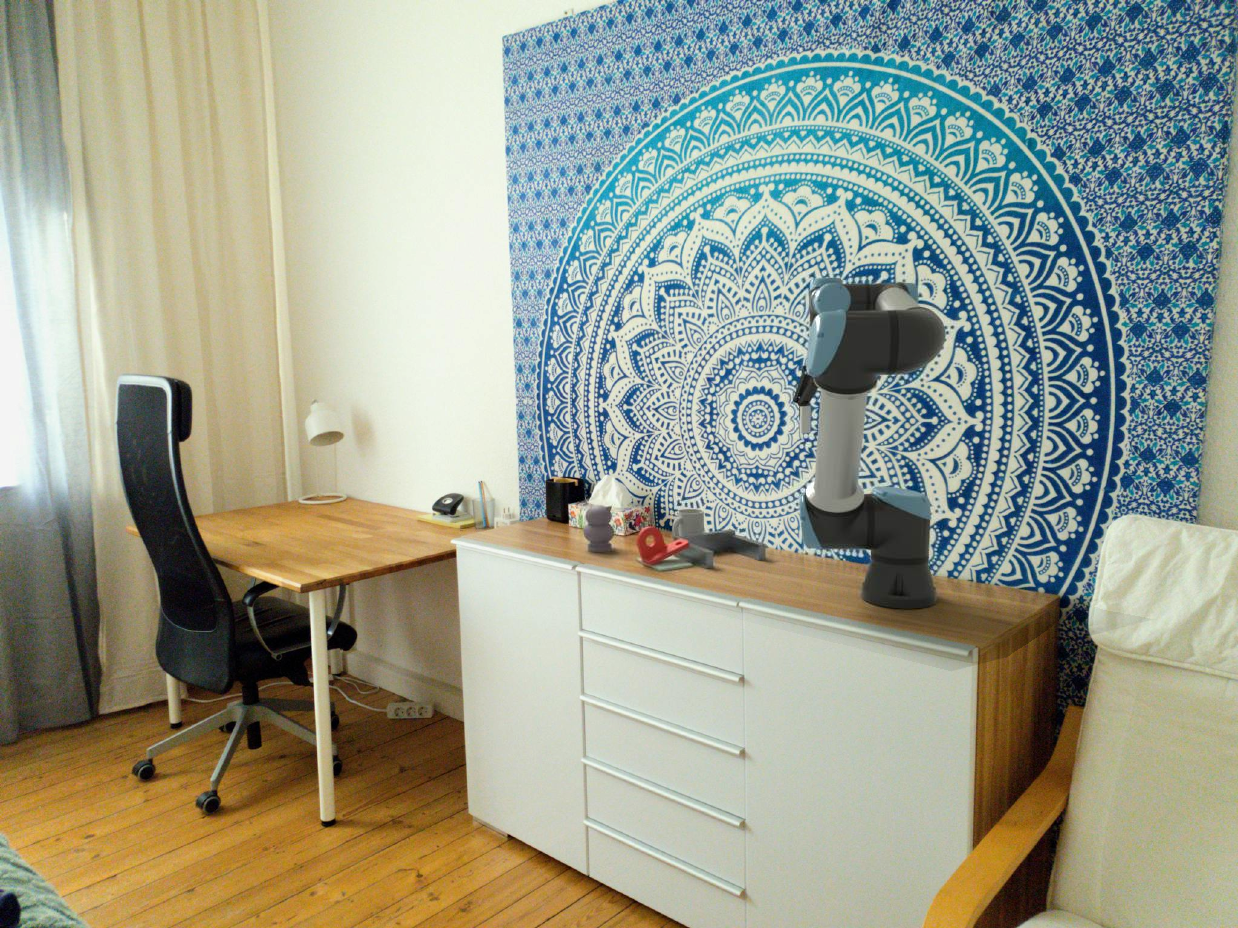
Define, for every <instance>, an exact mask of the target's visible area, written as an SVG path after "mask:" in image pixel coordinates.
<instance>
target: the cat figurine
mask: <svg viewBox="0 0 1238 928" xmlns="http://www.w3.org/2000/svg"><path fill="white" fill-rule="evenodd" d="M589 505H590V506H589V507H588V509H587V510H586V512H585V520H586V522H587V524H586V525H584V528H583V536H584V538H585V539H586V540H587V541H588V542H589V543H588V544H587V551H589V552H591V553H607V552H610V551H612V548H613V546H612V543H611V542H610V541H611V540H613V538H614V537H615V529H614V527H613V526H612V524H611V521H612V516H613V515H612V513H611V510H612V507H613V505H609V506H605V505H602V504H593V503H590V504H589Z"/></svg>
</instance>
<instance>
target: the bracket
mask: <svg viewBox="0 0 1238 928" xmlns="http://www.w3.org/2000/svg"><path fill="white" fill-rule="evenodd" d="M650 536H652V537H653V542H652V543H651V544H650V545H648V544H647V539H648V537H650ZM636 545H637V548H638V552H639V556H640V558H641V559H642V562H644V563H646V564H648V565H651V566H652V565H654V564H656V563H658V562H660V561H662V560H664V559H666V558H668V557H670V556H674V554H676V553H678V552H680V551H682V550H684V549H686V548H688V547H689V546H690V545H689V541H687V540H684V539H682V538H680V539H678V540H676V541H674V540H673V541H672V542H670V543H668V544H666V543H665V539H664V537H663V533H662V532H661V530H660V529H659V528H657V527H655V526H645V527H643V528H642V529H641V530H640V531H639V532H638V535H637V537H636Z"/></svg>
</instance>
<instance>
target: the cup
mask: <svg viewBox="0 0 1238 928" xmlns="http://www.w3.org/2000/svg"><path fill="white" fill-rule="evenodd" d="M699 533H705V512H704V510H703V509H697V508H682V509H678V510H677V511H676V518H675V519H674V520H673V523H672V536H673V538H674V537H676V536H684V535H691V534H699Z"/></svg>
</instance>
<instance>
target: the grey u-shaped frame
mask: <svg viewBox="0 0 1238 928" xmlns="http://www.w3.org/2000/svg"><path fill="white" fill-rule="evenodd" d="M680 538H682V539H684V540H687V541H689V545H690V546H689V547H688V548H686V549H684V550H682V551H680V552H678V553H676V554H674V555H673V557H676V558H679V559H681V560H684V561H686V562H689V563H691V564H693V565H696V566H698V567H701V568H704V569H713V568H714V553H719V552H725V551H730V552H733V553H736V554H739V555H742V556H744V557H748V558H750V559H753V560H756V561H765V560H766V559H767V558H766V553H767V551H766V547H767V546H766V545H767V544H766V543H764V542H761V541H758V540H754V539H751V538H748V537H745V536H741V535H739V534H736V530H735V529H732V528H731V529H730V528H729V529H724V530H716V531H708V532H704V533H699V534H691V535H684V536H676V537H674V536H673V542H674V541H676V540H678V539H680Z"/></svg>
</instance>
